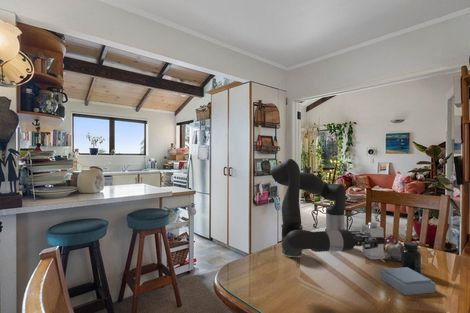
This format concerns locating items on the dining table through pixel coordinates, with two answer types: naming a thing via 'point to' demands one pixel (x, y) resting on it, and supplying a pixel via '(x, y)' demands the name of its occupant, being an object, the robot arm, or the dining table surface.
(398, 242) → the brake caliper
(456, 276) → the dining table surface
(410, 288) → the stand
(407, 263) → the supplement bottle
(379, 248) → the block
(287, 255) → the coffee can
